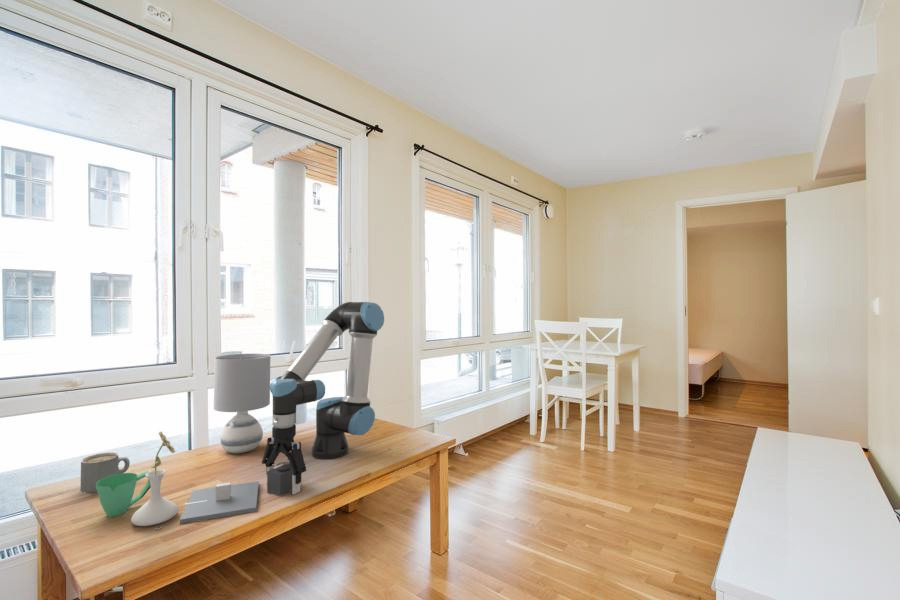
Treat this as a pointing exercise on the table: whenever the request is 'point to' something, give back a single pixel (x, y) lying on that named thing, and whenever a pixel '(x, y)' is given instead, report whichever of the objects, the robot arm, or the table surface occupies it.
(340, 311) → the robot arm
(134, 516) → the flower in vase
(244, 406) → the lamp
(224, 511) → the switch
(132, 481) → the mug
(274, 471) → the knob
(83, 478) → the coffee mug
